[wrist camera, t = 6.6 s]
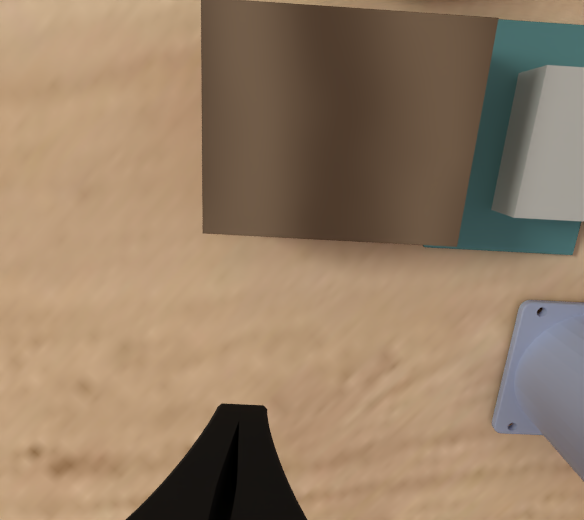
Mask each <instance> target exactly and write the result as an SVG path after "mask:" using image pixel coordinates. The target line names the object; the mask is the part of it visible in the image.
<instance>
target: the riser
mask: <svg viewBox="0 0 584 520" xmlns="http://www.w3.org/2000/svg"><path fill="white" fill-rule="evenodd" d="M498 19H499V18H492V17H477V16H463V15H448V14H434V13H419V12H405V11H390V10H376V9H362V8H347V7H333V6H318V5H304V4H289V3H275V2H260V1H246V0H201V57H202V196H203V233H206V234H225V235H244V236H263V237H282V238H300V239H319V240H338V241H357V242H376V243H395V244H414V245H433V246H451V247H457V244H458V239H459V233H460V228H461V222H462V217H463V211H464V206H465V200H466V195H467V189H468V184H469V178H470V173H471V167H472V162H473V156H474V151H475V145H476V140H477V134H478V129H479V123H480V118H481V112H482V107H483V101H484V96H485V90H486V85H487V79H488V74H489V68H490V63H491V57H492V52H493V46H494V41H495V35H496V30H497V24H498Z"/></svg>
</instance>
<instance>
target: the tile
mask: <svg viewBox="0 0 584 520" xmlns="http://www.w3.org/2000/svg"><path fill="white" fill-rule="evenodd" d="M491 210H493V211H496V212H499V213H502V214H505V215H507V216H510V217H513V218H528V219H546V220H565V221H583V222H584V67H571V66H556V65H545V66H542V67H538V68H535V69H531V70H528V71H524V72H521V73H519V74H518V79H517V84H516V89H515V94H514V99H513V104H512V109H511V114H510V119H509V124H508V129H507V134H506V139H505V144H504V149H503V154H502V159H501V164H500V169H499V174H498V179H497V183H496V188H495V193H494V198H493V203H492V208H491Z"/></svg>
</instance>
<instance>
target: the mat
mask: <svg viewBox="0 0 584 520" xmlns="http://www.w3.org/2000/svg"><path fill="white" fill-rule="evenodd" d="M545 65H556V66H571V67H584V25H573V24H559V23H544V22H530V21H515V20H501V19H498V24H497V30H496V35H495V41H494V46H493V52H492V57H491V63H490V68H489V74H488V79H487V85H486V90H485V96H484V101H483V107H482V112H481V118H480V123H479V129H478V134H477V140H476V145H475V151H474V156H473V162H472V167H471V173H470V178H469V184H468V189H467V195H466V200H465V206H464V211H463V217H462V222H461V228H460V233H459V239H458V244H457V247H451V246H433V245H423V246H424V247H431V248H450V249H469V250H488V251H507V252H526V253H545V254H564V255H573V251H574V247H575V244H576V240H577V236H578V232H579V229H580V225H581V221H565V220H546V219H528V218H513V217H510V216H507V215H505V214H502V213H499V212H496V211H493V210H491V208H492V203H493V198H494V193H495V188H496V183H497V179H498V174H499V169H500V164H501V159H502V154H503V149H504V144H505V139H506V134H507V129H508V124H509V119H510V114H511V109H512V104H513V99H514V94H515V89H516V84H517V79H518V74H519V73H521V72H524V71H528V70H531V69H535V68H538V67H542V66H545Z"/></svg>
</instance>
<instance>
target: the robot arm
mask: <svg viewBox="0 0 584 520" xmlns="http://www.w3.org/2000/svg"><path fill="white" fill-rule="evenodd" d="M539 308H542V311H541V312H540V313H537V311H538V309H539ZM511 423H513V424H512V425H510V426H508V425H509V424H511ZM492 426H493V428H494V429H495V431H496V432H498V433H505V434H530V435H544V436H545V437H546V439H547V440H548V441H549V442H550V443H551V444H552V446H553V447H554V448H555V449H556V450H557V451H558V452H559V454H560V455H561V456H562V457H563V458H564V459H565V461H566V462H567V463H568V464H569V465H570V466H571V467H572V469H573V470H574V471H575V472H576V473H577V474H578V476H579V477H580V478H581V479H582V480H583V481H584V302H564V301H544V300H527V301H525V302H523V303H522V304H521V305H520V307H519V310H518V314H517V318H516V323H515V327H514V331H513V335H512V339H511V343H510V348H509V352H508V356H507V360H506V364H505V369H504V373H503V377H502V381H501V385H500V389H499V394H498V398H497V402H496V406H495V410H494V415H493V419H492ZM126 520H307V518H306V517H305V515H304V513H303V511H302V509H301V507H300V505H299V504H298V502H297V500H296V498H295V496H294V494H293V491H292V489H291V487H290V485H289V483H288V480H287V478H286V476H285V473H284V471H283V468H282V466H281V463H280V461H279V458H278V455H277V452H276V449H275V446H274V443H273V440H272V436H271V432H270V428H269V424H268V417H267V409H266V408H265V407H264V406H262V405H241V404H221V405H219V406H218V407H217V409H216V411H215V413H214V415H213V416H212V418H211V420H210V421H209V423H208V425H207V426H206V428H205V429H204V431H203V432H202V433H201V435H200V436H199V438H198V439H197V440H196V442H195V443H194V445H193V446H192V447H191V449H190V450H189V451H188V453H187V454H186V455H185V457H184V458H183V459H182V460H181V461H180V463H179V464H178V465H177V466H176V467H175V469H174V470H173V471H172V472H171V473H170V475H169V476H168V477H167V478H166V479H165V480H164V482H163V483H162V484H161V485H160V486H159V487H158V488H157V489H156V490H155V491H154V492H153V493H152V495H151V496H150V497H149V498H148V499H147V500H146V501H145V502H144V503H143V504H142V505H141V506H140V507H139V508H138V509H137V510H136V511H134V512H133V513H132V514H131V515H130V516H129V517H128V518H127V519H126Z"/></svg>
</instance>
